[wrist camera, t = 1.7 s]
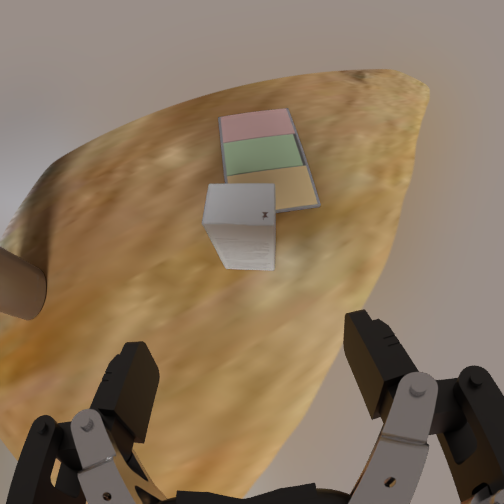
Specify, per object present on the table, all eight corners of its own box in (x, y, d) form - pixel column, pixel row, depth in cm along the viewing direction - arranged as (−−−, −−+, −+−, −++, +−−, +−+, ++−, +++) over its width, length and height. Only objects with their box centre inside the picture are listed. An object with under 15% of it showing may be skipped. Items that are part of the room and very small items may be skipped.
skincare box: (275, 238, 34) (277, 182, 23) (274, 271, 33) (276, 226, 21) (227, 237, 35) (207, 181, 23) (224, 269, 33) (200, 225, 22)
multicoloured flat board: (229, 220, 35) (228, 217, 35) (218, 119, 43) (218, 116, 42) (320, 206, 35) (320, 204, 35) (287, 110, 43) (288, 107, 42)
